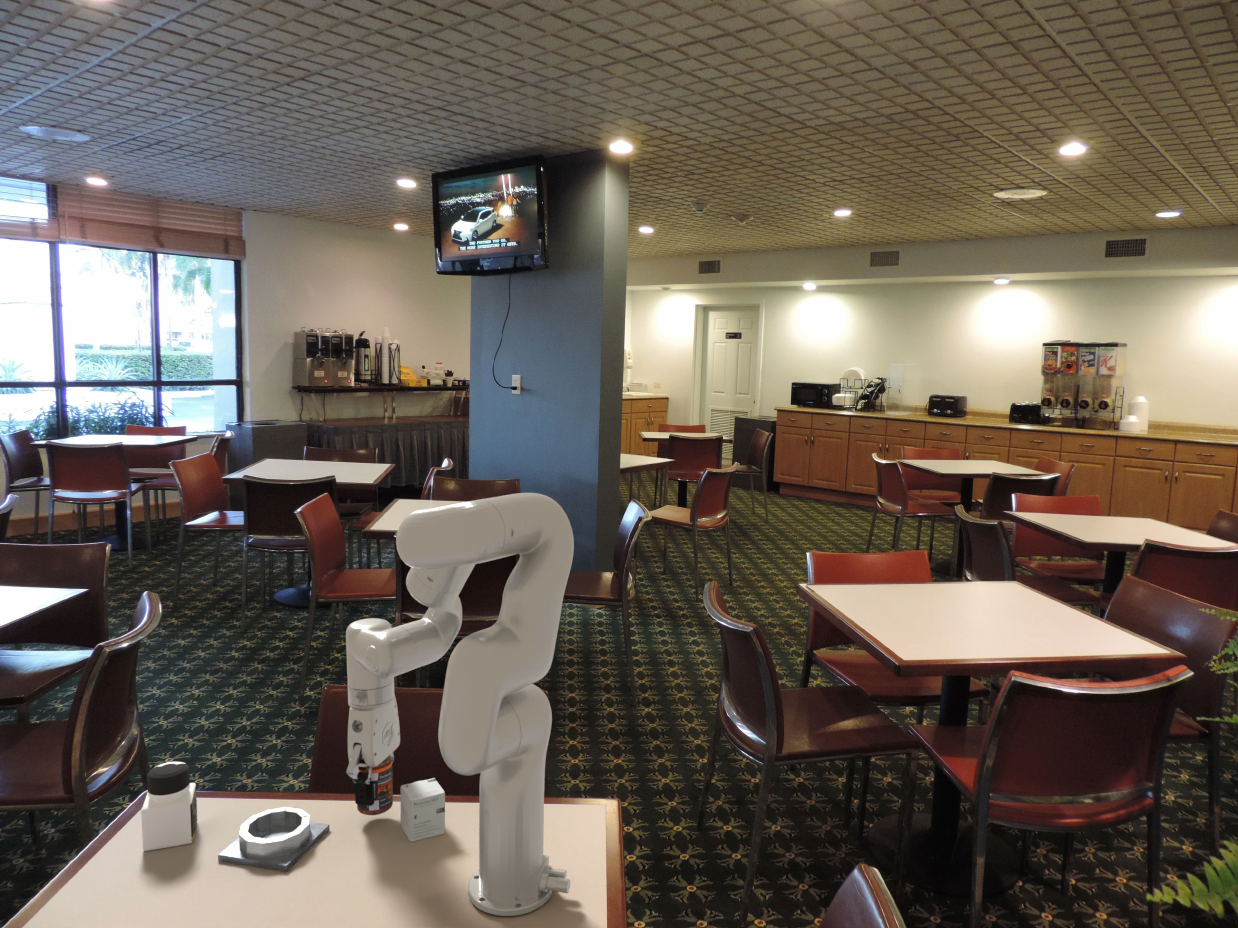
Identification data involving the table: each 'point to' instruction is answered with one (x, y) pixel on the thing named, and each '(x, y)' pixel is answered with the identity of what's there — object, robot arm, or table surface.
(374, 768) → the supplement bottle
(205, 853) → the table surface
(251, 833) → the ring plate
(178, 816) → the medicine bottle
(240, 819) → the table surface
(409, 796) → the skincare box
